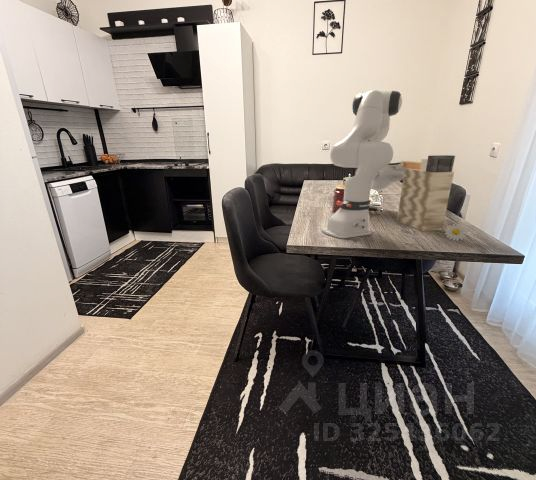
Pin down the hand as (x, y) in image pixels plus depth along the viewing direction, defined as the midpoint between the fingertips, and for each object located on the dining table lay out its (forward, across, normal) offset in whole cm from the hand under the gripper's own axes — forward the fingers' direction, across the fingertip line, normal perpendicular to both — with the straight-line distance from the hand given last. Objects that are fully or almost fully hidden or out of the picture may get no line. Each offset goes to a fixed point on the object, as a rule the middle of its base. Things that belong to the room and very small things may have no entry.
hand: (407, 163), depth 141 cm
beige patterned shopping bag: (-2, 0, +31) cm, 31 cm away
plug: (+7, 0, +6) cm, 9 cm away
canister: (-31, -23, +14) cm, 42 cm away
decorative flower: (+13, 0, +40) cm, 43 cm away
